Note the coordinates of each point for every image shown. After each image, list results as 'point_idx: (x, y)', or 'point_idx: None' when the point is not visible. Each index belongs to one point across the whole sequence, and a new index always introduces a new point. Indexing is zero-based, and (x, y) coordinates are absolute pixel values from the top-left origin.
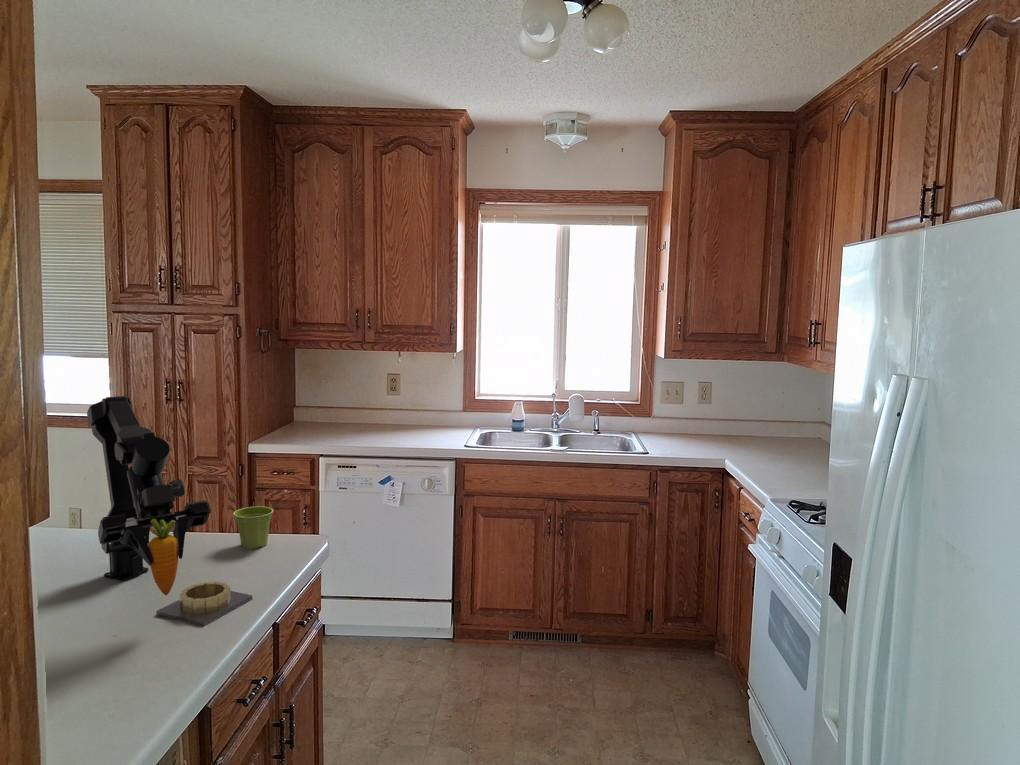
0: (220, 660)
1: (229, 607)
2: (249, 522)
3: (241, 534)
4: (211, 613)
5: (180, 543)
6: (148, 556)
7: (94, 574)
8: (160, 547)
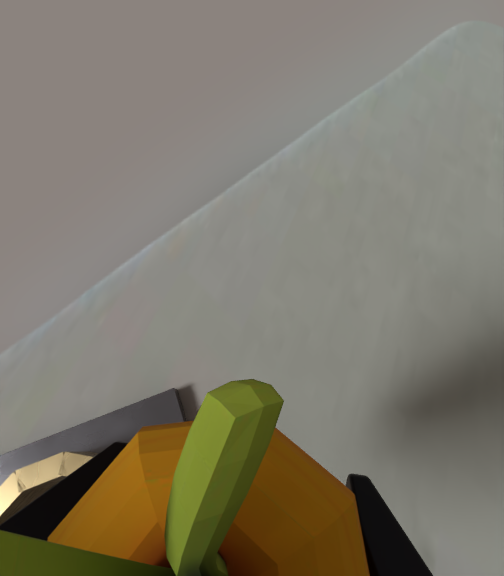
0: (242, 182)
1: (56, 435)
2: None
3: None
4: (122, 435)
5: (48, 518)
6: (382, 516)
7: None
8: (289, 439)
